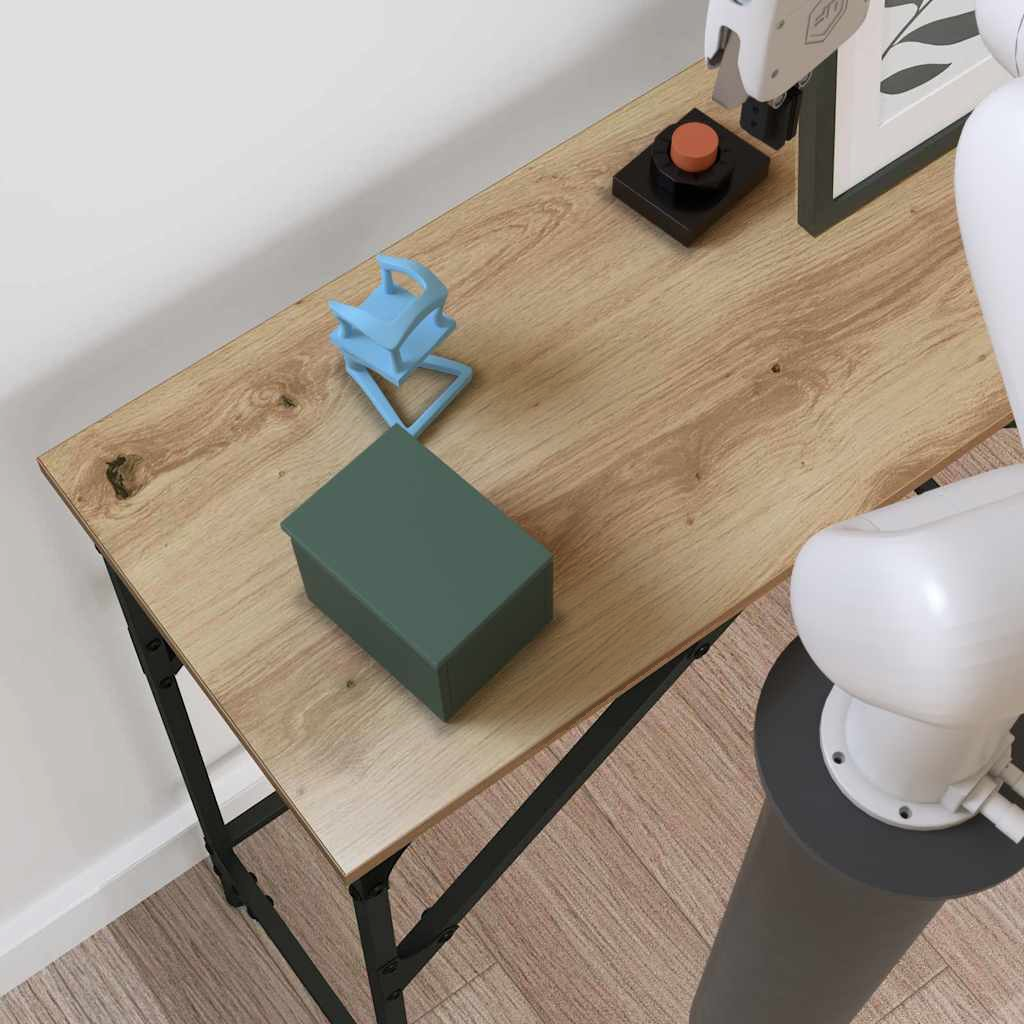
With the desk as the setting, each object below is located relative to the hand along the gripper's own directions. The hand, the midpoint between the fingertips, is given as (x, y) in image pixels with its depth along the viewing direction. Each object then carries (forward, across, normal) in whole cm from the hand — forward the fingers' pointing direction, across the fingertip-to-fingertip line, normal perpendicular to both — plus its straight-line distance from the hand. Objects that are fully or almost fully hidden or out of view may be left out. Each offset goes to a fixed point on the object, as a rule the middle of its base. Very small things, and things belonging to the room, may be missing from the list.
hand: (767, 132), depth 100 cm
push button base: (+24, +11, +14) cm, 30 cm away
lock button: (+20, +11, +14) cm, 27 cm away
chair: (+25, -18, +17) cm, 35 cm away
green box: (+25, -30, +2) cm, 39 cm away
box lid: (+16, -30, +2) cm, 34 cm away
